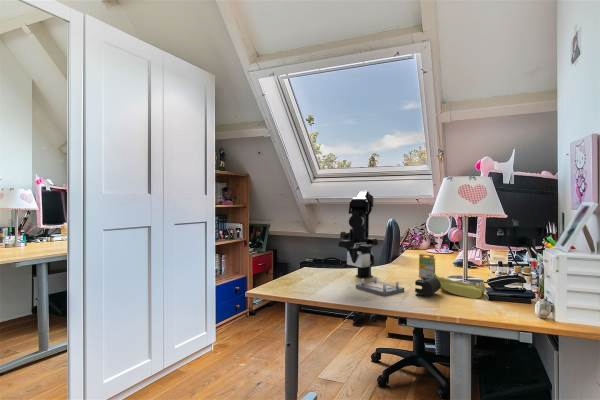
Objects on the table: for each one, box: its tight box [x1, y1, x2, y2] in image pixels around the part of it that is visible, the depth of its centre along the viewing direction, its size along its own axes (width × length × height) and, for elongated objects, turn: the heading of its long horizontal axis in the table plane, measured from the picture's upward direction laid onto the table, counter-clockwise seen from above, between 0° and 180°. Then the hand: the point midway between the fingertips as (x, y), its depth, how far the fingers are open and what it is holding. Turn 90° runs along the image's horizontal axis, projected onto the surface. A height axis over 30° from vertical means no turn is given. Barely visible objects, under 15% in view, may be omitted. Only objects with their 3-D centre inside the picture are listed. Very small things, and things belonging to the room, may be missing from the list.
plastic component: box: [434, 272, 486, 300], centre depth 154 cm, size 20×7×10 cm
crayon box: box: [418, 253, 436, 278], centre depth 184 cm, size 7×3×12 cm, turn 57°
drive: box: [346, 251, 371, 268], centre depth 160 cm, size 5×9×6 cm, turn 35°
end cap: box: [414, 277, 441, 298], centre depth 150 cm, size 10×7×7 cm
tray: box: [355, 276, 405, 297], centre depth 158 cm, size 13×16×4 cm
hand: (358, 262), depth 160 cm, fingers closed on drive, 5 cm apart
